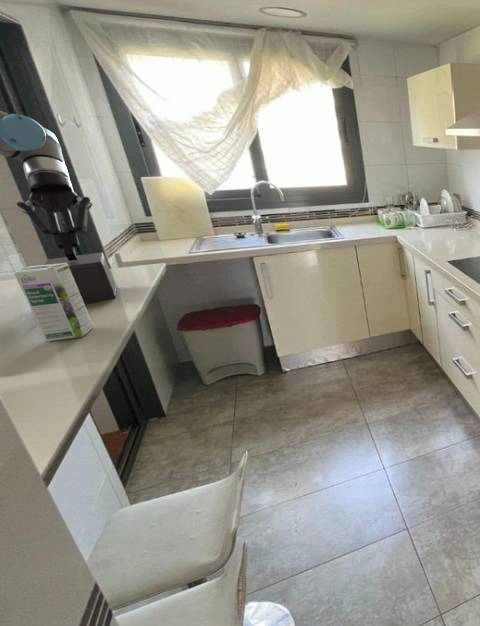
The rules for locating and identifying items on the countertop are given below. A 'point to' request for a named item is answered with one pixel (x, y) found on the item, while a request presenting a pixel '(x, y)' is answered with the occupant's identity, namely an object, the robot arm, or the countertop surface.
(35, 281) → the syrup box
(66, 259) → the lid
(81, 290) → the dark brown box
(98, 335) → the countertop surface
